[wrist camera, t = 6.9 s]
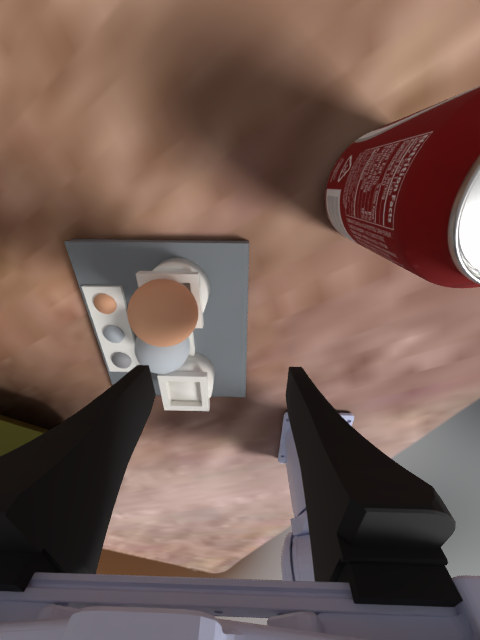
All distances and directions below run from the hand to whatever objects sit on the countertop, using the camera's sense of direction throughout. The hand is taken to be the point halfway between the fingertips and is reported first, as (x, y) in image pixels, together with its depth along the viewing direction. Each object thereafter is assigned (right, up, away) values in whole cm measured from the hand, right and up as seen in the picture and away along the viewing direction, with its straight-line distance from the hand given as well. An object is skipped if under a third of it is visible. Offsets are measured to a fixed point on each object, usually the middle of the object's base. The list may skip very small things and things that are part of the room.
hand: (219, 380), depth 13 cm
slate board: (-5, +3, +10) cm, 12 cm away
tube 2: (-4, -2, +12) cm, 13 cm away
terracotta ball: (-4, +4, +3) cm, 6 cm away
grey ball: (-5, +1, +8) cm, 9 cm away
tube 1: (-4, +6, +7) cm, 10 cm away
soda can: (+10, +12, +5) cm, 17 cm away
